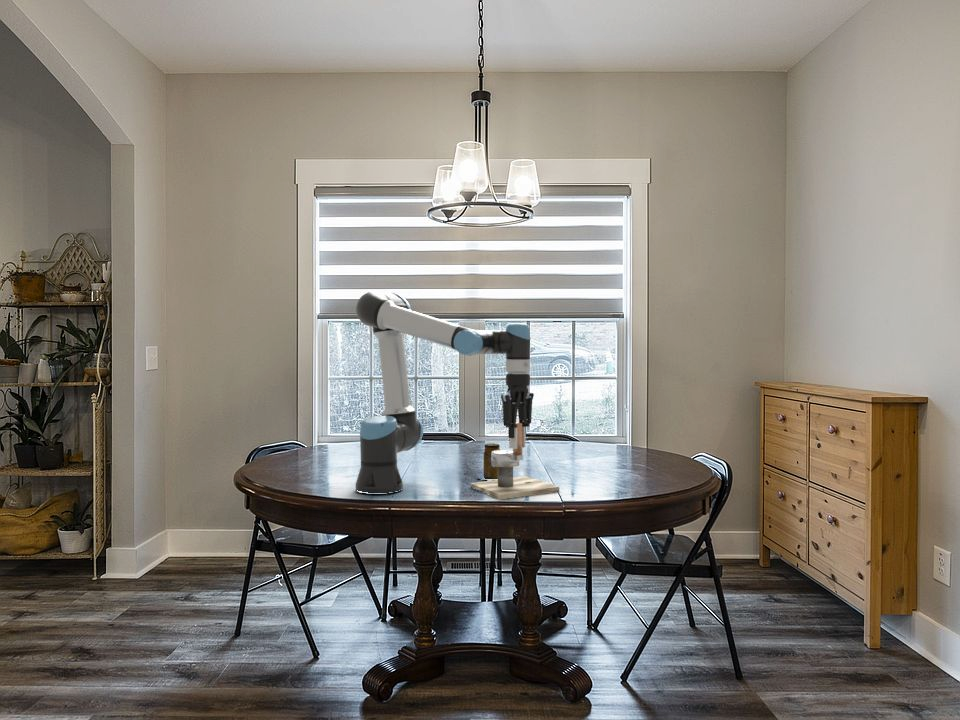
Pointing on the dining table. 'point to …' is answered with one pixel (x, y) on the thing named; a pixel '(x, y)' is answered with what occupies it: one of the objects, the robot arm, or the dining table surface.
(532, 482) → the post base
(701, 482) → the dining table surface
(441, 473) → the dining table surface
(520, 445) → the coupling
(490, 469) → the condiment
